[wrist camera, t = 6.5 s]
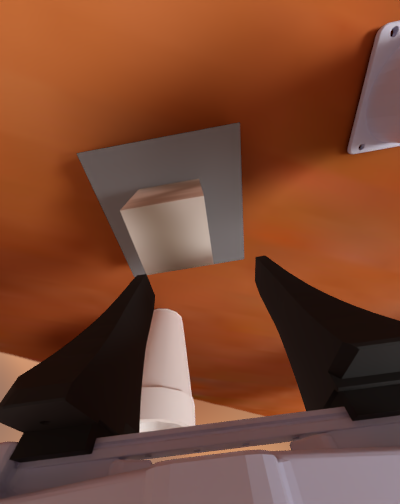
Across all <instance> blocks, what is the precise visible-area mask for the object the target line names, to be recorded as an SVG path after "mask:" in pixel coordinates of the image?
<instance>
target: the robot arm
mask: <svg viewBox="0 0 400 504" xmlns="http://www.w3.org/2000/svg"><path fill="white" fill-rule="evenodd" d="M392 29H393V35H392V37H391V36H390V33H391V30H392ZM360 145H361V147H360V149H359V146H360ZM396 146H400V21H395V22H391V23H388V24H386V25H384V26H382V27H381V28H380V29H379V31H378V32H377V34H376V37H375V41H374V45H373V49H372V53H371V57H370V61H369V65H368V69H367V73H366V77H365V81H364V85H363V89H362V93H361V97H360V101H359V105H358V109H357V113H356V117H355V121H354V125H353V129H352V133H351V137H350V141H349V145H348V149H347V151H348V153H349V154H358V153H363V152H369V151H374V150H380V149H385V148H391V147H396ZM255 282H256V285H257V288H258V291H259V293H260V296H261V298H262V300H263V302H264V304H265V306H266V308H267V310H268V312H269V314H270V315H271V317H272V319H273V321H274V323H275V325H276V328H277V330H278V332H279V335H280V337H281V340H282V342H283V345H284V348H285V350H286V353H287V356H288V358H289V361H290V364H291V367H292V369H293V372H294V375H295V378H296V381H297V384H298V387H299V390H300V393H301V396H302V399H303V402H304V405H305V409H306V411H305V412H297V413H289V414H282V415H274V416H266V417H258V418H250V419H242V420H235V421H227V422H219V423H211V424H203V425H195V426H187V427H180V428H172V429H164V430H156V431H148V432H140V433H139V429H140V406H141V391H142V379H143V368H144V359H145V350H146V344H147V340H148V335H149V330H150V326H151V321H152V317H153V312H154V303H155V295H154V292H153V290H152V287H151V285H150V282H149V280H148V277H147V275H146V274H142V275H137V276H136V277H135V278H134V279H133V281H132V282H131V283H130V284H129V285H128V287H127V288H126V289H125V290H124V291H123V292H122V294H121V295H120V296H119V297H118V298H117V299H116V300H115V301H114V302H113V304H112V305H111V306H110V307H109V308H108V309H107V310H106V311H105V312H104V313H103V314H102V315H101V316H100V317H99V318H98V319H97V320H96V321H95V322H93V323H92V324H91V325H90V326H89V327H88V328H87V329H85V330H84V331H83V332H82V333H80V334H79V335H78V336H77V337H76V338H74V339H73V340H72V341H71V342H69V343H68V344H67V345H65V346H64V347H63V348H61V349H60V350H58V351H57V352H56V353H54V354H53V355H51V356H50V357H48V358H47V359H46V360H44V361H42V362H41V363H39V364H38V365H37V366H35V367H33V368H32V369H30V370H29V371H27V372H25V373H24V374H22V375H21V376H19V377H18V378H17V380H16V381H15V383H14V384H13V385H12V387H11V388H10V390H9V391H8V393H7V394H6V395H5V397H4V398H3V400H2V401H1V403H0V423H2V424H5V425H7V426H9V427H12V428H14V429H16V430H18V431H21V432H23V435H22V437H21V439H20V441H19V442H3V443H0V504H400V321H398V320H395V319H392V318H388V317H385V316H382V315H379V314H376V313H373V312H370V311H367V310H364V309H362V308H359V307H356V306H354V305H351V304H349V303H346V302H344V301H341V300H339V299H337V298H334V297H332V296H330V295H328V294H326V293H324V292H322V291H320V290H318V289H316V288H314V287H312V286H310V285H308V284H307V283H305V282H303V281H302V280H300V279H298V278H297V277H295V276H293V275H292V274H290V273H289V272H287V271H286V270H284V269H283V268H282V267H280V266H279V265H277V264H276V263H275V262H273V261H272V260H271V259H269V258H268V257H266V256H260V257H256V266H255ZM290 441H292V442H291V443H290V447H291V450H289V451H266V450H246V451H237V452H229V453H221V454H212V455H204V456H196V457H188V458H180V459H173V460H166V461H161V462H157V463H155V464H152V462H151V461H150V460H144V459H152V458H159V457H168V456H176V455H184V454H192V453H201V452H208V451H217V450H225V449H232V448H241V447H249V446H257V445H266V444H274V443H282V442H290Z"/></svg>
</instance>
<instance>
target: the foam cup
mask: <svg viewBox="0 0 400 504" xmlns="http://www.w3.org/2000/svg"><path fill="white" fill-rule="evenodd" d="M187 426H195V405H194V401H193V398H192V394H191V386H190V378H189V369H188V361H187V353H186V345H185V337H184V329H183V322H182V317H181V316H180V315H179V314H178V313H177V312H175V311H172V310H169V309H155V310H154V312H153V317H152V321H151V326H150V330H149V335H148V340H147V344H146V350H145V359H144V368H143V379H142V391H141V406H140V429H139V433H140V432H148V431H156V430H164V429H172V428H180V427H187Z"/></svg>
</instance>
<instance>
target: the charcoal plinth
mask: <svg viewBox="0 0 400 504" xmlns="http://www.w3.org/2000/svg"><path fill="white" fill-rule="evenodd" d="M77 156H78V158H79V160H80V162H81V164H82V166H83V168H84V170H85V173H86V175H87V177H88V179H89V181H90V183H91V185H92V188H93V190H94V192H95V194H96V196H97V198H98V200H99V202H100V205H101V207H102V209H103V211H104V213H105V215H106V217H107V220H108V222H109V224H110V226H111V228H112V230H113V232H114V235H115V237H116V239H117V241H118V243H119V245H120V247H121V249H122V252H123V254H124V256H125V258H126V260H127V262H128V264H129V267H130V269H131V271H132V273H133V275H134V277H136V276H137V275H142V274H146V273H145V270H144V268H143V265H142V263H141V261H140V258H139V256H138V253H137V251H136V248H135V246H134V244H133V241H132V239H131V236H130V234H129V232H128V229H127V227H126V224H125V222H124V220H123V217H122V215H121V212H120V210H121V209H122V207H123V206H124V205H125V204H126V203H127V202H128V201H129V200H130V199H131V197H132V196H133V195H134V194H135V193H136V192H137V191H138V190H139V189H143V188H149V187H155V186H160V185H166V184H171V183H177V182H182V181H188V180H194V179H199V180H200V184H201V188H202V191H203V195H204V200H205V207H206V214H207V221H208V228H209V235H210V242H211V249H212V256H213V263H214V264H217V263H223V262H229V261H235V260H241V259H244V238H243V206H242V173H241V141H240V122H239V123H234V124H228V125H223V126H218V127H213V128H207V129H202V130H197V131H192V132H186V133H181V134H176V135H171V136H165V137H160V138H155V139H149V140H144V141H139V142H134V143H128V144H123V145H118V146H113V147H107V148H102V149H97V150H92V151H86V152H81V153H77Z"/></svg>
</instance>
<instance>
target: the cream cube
mask: <svg viewBox="0 0 400 504" xmlns="http://www.w3.org/2000/svg"><path fill="white" fill-rule="evenodd" d="M120 212H121V215H122V217H123V220H124V222H125V224H126V227H127V229H128V232H129V234H130V236H131V239H132V241H133V244H134V246H135V248H136V251H137V253H138V256H139V258H140V261H141V263H142V265H143V268H144V270H145V273H146V275H150V274H156V273H162V272H169V271H175V270H181V269H187V268H193V267H199V266H205V265H211V264H214V263H213V256H212V249H211V242H210V235H209V228H208V221H207V214H206V207H205V200H204V195H203V191H202V188H201V184H200V180H199V179H194V180H188V181H182V182H177V183H171V184H166V185H160V186H155V187H149V188H143V189H139V190H138V191H137V192H136V193H135V194H134V195H133V196H132V197H131V199H130V200H129V201H128V202H127V203H126V204H125V205H124V206H123V207H122V209H121V210H120Z"/></svg>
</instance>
